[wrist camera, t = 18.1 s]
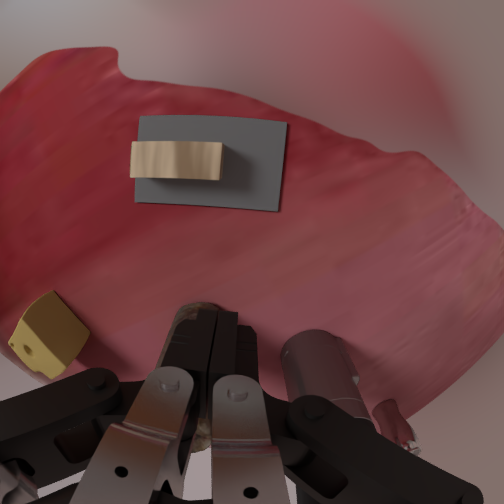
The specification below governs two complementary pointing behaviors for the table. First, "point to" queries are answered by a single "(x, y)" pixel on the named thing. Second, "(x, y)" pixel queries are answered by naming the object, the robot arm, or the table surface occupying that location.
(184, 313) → the brown rough cylinder
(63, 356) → the cheese
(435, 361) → the table surface
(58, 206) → the table surface
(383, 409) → the beer glass
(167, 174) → the block
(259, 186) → the mat
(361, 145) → the table surface
